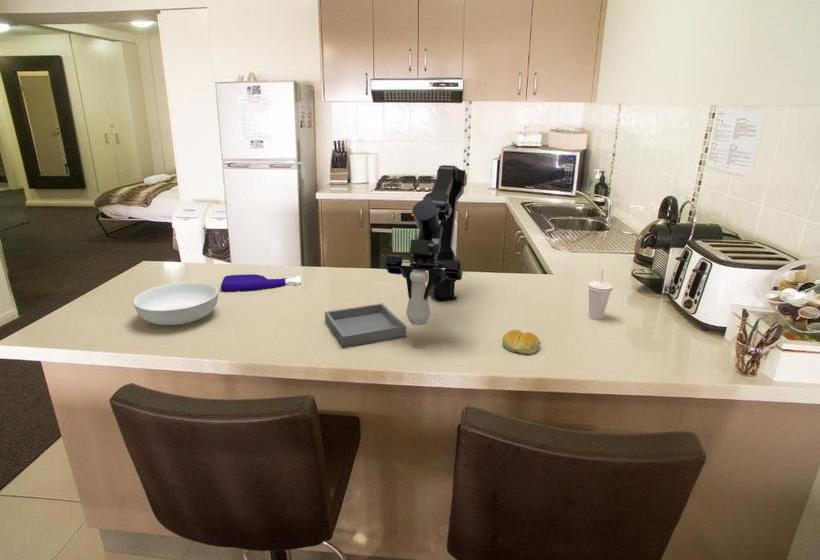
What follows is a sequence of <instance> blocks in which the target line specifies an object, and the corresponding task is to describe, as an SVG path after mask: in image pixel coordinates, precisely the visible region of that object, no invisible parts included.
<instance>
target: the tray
mask: <svg viewBox="0 0 820 560" xmlns="http://www.w3.org/2000/svg"><path fill="white" fill-rule="evenodd" d="M324 322H325V324H326V325H327V327H328V328H329V330H330V332H331V333H332V334H333V336H334V337H335V338H336V340H337V341H338V343H339V345H341V348H342V349H346V348H351V347H352V348H353V347H357V346H362V345H366V344H367V345H368V344H373V343H378V342H379V343H380V342H383V341H384V342H385V341H390V340H396V339H402V338H405V337H406V336H407V325H406V324H405V323H403V321H401V320H400V318H398V317H397V316H396V315H395V314H394V312H392V311H391V310H390V309H389V308H388V307H387V305H385V304H384V303H383V302H381V303H374V304H368V305H361V306H354V307H349V308H342V309H341V308H340V309H335V310H328V311H324Z"/></svg>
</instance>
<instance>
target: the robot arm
mask: <svg viewBox="0 0 820 560" xmlns="http://www.w3.org/2000/svg"><path fill="white" fill-rule="evenodd" d="M436 172H437V173H436V180H435V182H434V185H433V188H432V190H431V192H429V193H426V194H425V195H424V196H423V197H422V200H420V201H418V202H417V203H415V205H414V206H413V207H412V215H413V219H414V221H415V224H416V227H417V230H418V234H417V235H418V236H417V238H416V239H411V240H410V246H409V254H410V258H411V260H410V259H409V260H408V259H404V258H403V256H402V255H403V254H402V255H399V254H387V255H386V256H385V257H384V260H383V264H384V267H385V268H386V269H385V270H386V272H387V273H388V274H391V275H399V276H400V275H402V278H404V279H405V280H406V288H407V296H408V300H409V299H410V298H411V286H412V281H411V280H410V273H411V272H412V271H414V270H423V271H426V272H427V273H428V281H427V282H426V283H427V284H426V290H425V294H424V300H427V298H428V299H429V297H431V298H433V299H434V300H435V301H437V302H445V301H451V300H456V299H457V298H458V297H457V296H456V295H455V282H457V281H462V279H463V265H462V262H461V261H460V260H458V259H457V255H456V256H455V253H454V251H453V249H452V244H453V235H454V226H455V220H456V216H457V207H458V206H457V205H458V201H459V200H460V198H461V197H462V195H463V194H464V191H465V187H466V186H467V183H468V182H467V181H468V175H467V173H466V171H465V170H462V169H460V168H458V166H456V165H449V164H447V165H446V164H445V165H444V164H442V165H439V167H438V169H436Z"/></svg>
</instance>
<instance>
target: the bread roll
mask: <svg viewBox="0 0 820 560" xmlns="http://www.w3.org/2000/svg"><path fill="white" fill-rule="evenodd" d="M502 345H503V347H504V348H505V349H506V350H508V351H509V352H512V353H517V354H519V355H533V354H535V353H536V352H538V351H539V350H540V347H541V341H540V338H539V337H538V336H537V335H535V334H534V333H533V332H523V331H521V330H520V329H519V330H518V329H513V330H509V331H507V332H506V333H505V334H504V335H503V336H502Z"/></svg>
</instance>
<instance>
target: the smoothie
mask: <svg viewBox="0 0 820 560" xmlns="http://www.w3.org/2000/svg"><path fill="white" fill-rule="evenodd" d="M604 270H605V269H603V268H601V272H600V276H599V277H600V279H599V280H598V281H595V280H594V281H590V282H589V283H588V286H587V288H588V317H589V319H592V320H596V321H601V320H603V318H604V314H605V311H606V308H607V306H608V305H607V304H608V300H609V298H610V295H611V292H612V291H613V285H612V284H610V283H608V282H604V281H603V276H604Z"/></svg>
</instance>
